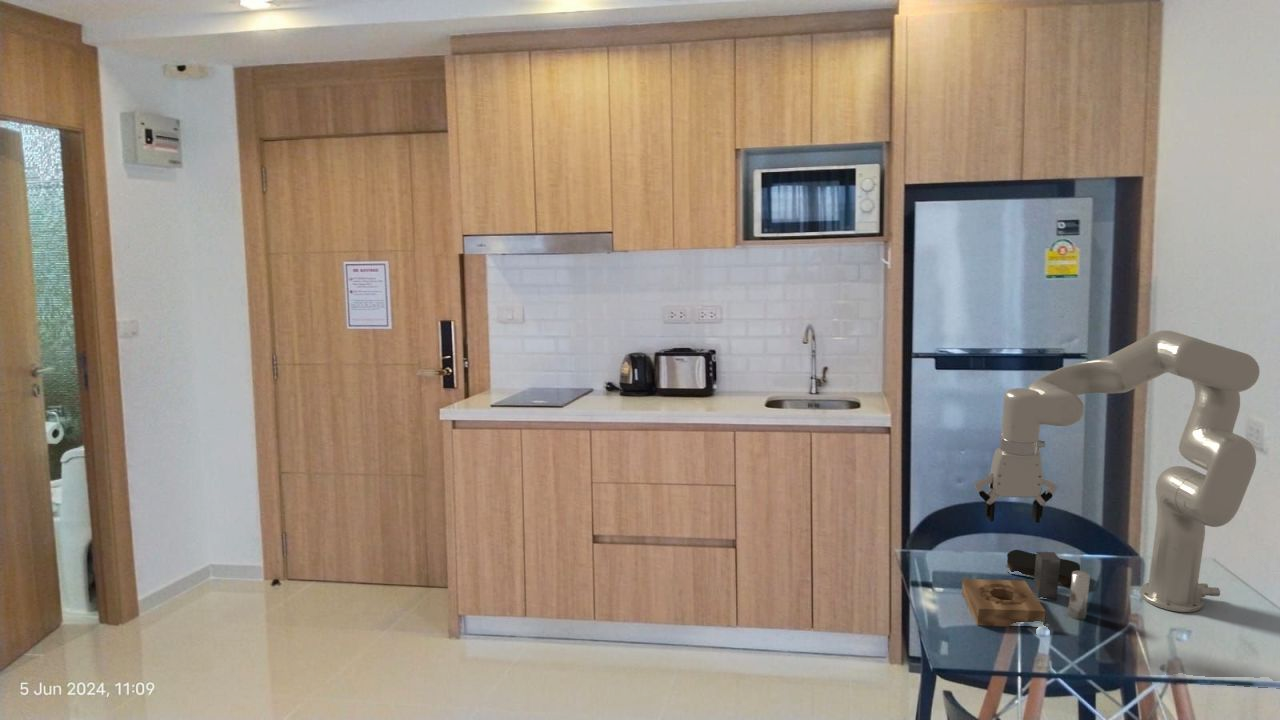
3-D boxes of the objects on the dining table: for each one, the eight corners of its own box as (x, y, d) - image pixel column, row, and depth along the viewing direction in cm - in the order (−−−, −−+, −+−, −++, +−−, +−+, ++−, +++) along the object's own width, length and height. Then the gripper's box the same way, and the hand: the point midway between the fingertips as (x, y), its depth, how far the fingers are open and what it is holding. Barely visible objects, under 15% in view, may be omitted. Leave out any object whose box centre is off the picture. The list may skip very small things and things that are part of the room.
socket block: (1023, 596, 209) (1024, 580, 208) (1043, 627, 195) (1045, 611, 194) (961, 594, 210) (962, 578, 209) (977, 625, 196) (978, 608, 196)
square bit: (1050, 591, 211) (1054, 552, 208) (1056, 599, 207) (1060, 559, 205) (1032, 590, 211) (1036, 551, 209) (1038, 599, 207) (1042, 559, 205)
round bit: (1082, 611, 201) (1086, 570, 199) (1088, 619, 198) (1092, 578, 196) (1065, 611, 202) (1069, 570, 200) (1071, 619, 198) (1075, 577, 196)
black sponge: (1080, 576, 218) (1082, 562, 218) (1075, 590, 212) (1076, 576, 211) (1009, 561, 227) (1010, 547, 226) (1002, 574, 220) (1003, 560, 219)
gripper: (1054, 441, 196) (1047, 513, 200) (973, 439, 198) (967, 512, 202) (1066, 452, 189) (1059, 527, 193) (982, 450, 191) (976, 525, 195)
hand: (1012, 519), depth 197 cm, fingers open, 9 cm apart
